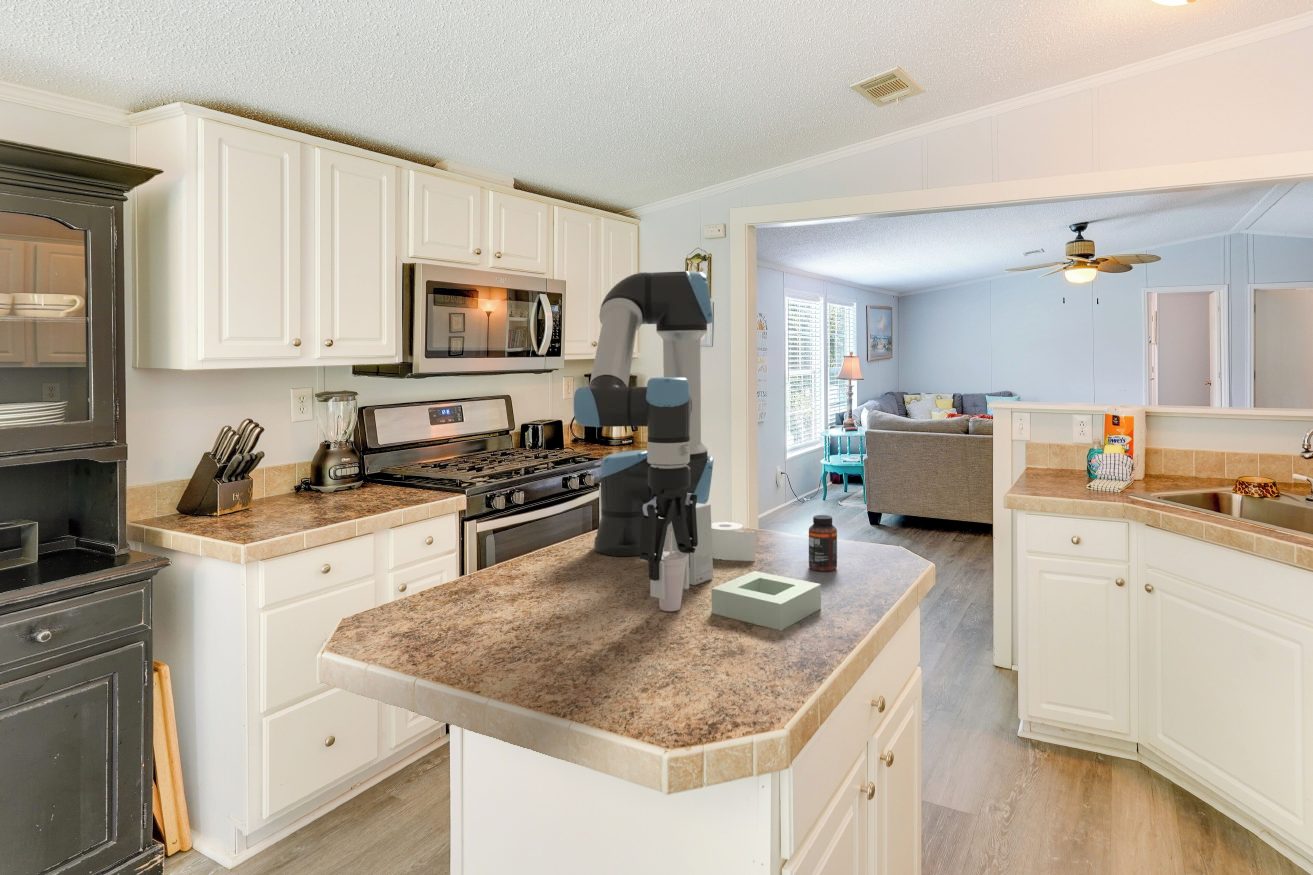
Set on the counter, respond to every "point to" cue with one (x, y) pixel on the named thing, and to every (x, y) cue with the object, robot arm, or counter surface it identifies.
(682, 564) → the smoothie
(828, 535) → the supplement bottle
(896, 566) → the counter surface
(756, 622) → the block
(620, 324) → the robot arm
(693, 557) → the skincare box
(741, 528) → the toilet paper
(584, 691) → the counter surface
